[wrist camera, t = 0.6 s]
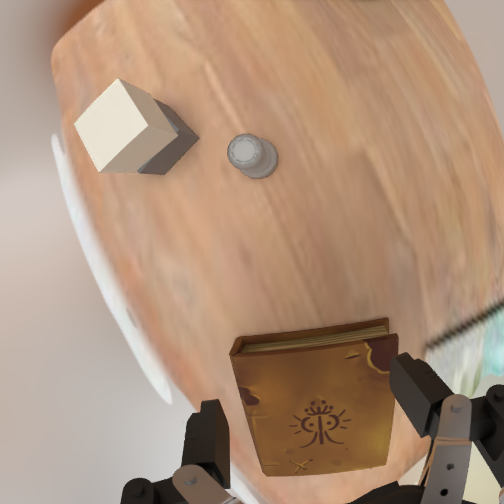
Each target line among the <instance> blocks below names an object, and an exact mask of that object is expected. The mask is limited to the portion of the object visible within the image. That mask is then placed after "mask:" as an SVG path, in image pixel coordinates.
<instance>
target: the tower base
mask: <svg viewBox="0 0 504 504" xmlns="http://www.w3.org/2000/svg"><path fill="white" fill-rule="evenodd" d="M153 99H154V98H153ZM154 100H155V102H156V103H157V105H158V106H159V108H160V109H161V111H162V112H163V114H164V115H165V117H166V118H167V120H168V121H169V123H170V124H171V126H172V127H173V129H174V130H175V132H176V133H177V135H178V136H177V137H176V138H175V139H174V140H173V141H171V142H170V143H169V144H168V145H166V146H165V147H164V148H163V149H162V150H161V151H159V152H158V153H157V154H156V155H155V156H153V157H152V158H151V159H150V160H149V161H148V162H147V163H145V164H144V165H143V166H142V167H141V168H140V169H139V170H138V173H140V174H163V175H165V174H166V173H167V172H168V171H169V169H170V168H171V167H172V166H173V165H174V164H175V163H176V162H177V161H178V160H179V159H180V158H181V157H182V156H183V155H184V154H185V153H186V152H187V151H188V150H189V149H190V148H191V146H192V145H193V144H194V143H195V142H196V141H197V140H198V139H199V137H198V136H197V135H196V134H195V133H194V132H193V131H192V130H191V129H190V128H189V127H188V126H187V124H186V123H185V122H184V121H183V120H182V119H181V118H180V117H179V116H178V115H177V114H176V113H175V112H174V111H173V110H172V109H171V108H170V107H169V106H167V105H165V104H163V103H162V102H160V101H158V100H156V99H154Z"/></svg>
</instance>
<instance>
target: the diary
mask: <svg viewBox="0 0 504 504" xmlns="http://www.w3.org/2000/svg"><path fill="white" fill-rule="evenodd" d="M398 340H399V337H398V335H397V333H395V334H390V335H389V319H388V318H383V319H377V320H371V321H365V322H359V323H353V324H346V325H339V326H332V327H325V328H318V329H310V330H302V331H293V332H284V333H274V334H264V335H253V336H241V337H238V338H236V340H235V342H234V344H233V347H232V349H231V351H230V353H229V355H230V359H231V363H232V367H233V371H234V375H235V378H236V382H237V386H238V389H239V393H240V397H241V400H242V404H243V408H244V411H245V415H246V418H247V422H248V425H249V429H250V432H251V436H252V439H253V442H254V446H255V449H256V452H257V456H258V459H259V462H260V465H261V469H262V472H263V473H264V474H265V475H266V476H304V475H318V474H329V473H339V472H347V471H354V470H361V469H367V468H373V467H378V466H384V465H386V462H387V457H388V451H389V445H390V438H391V431H392V423H393V415H394V406H395V396H394V395H393V393H392V392H391V389H390V385H389V375H390V362H391V358H392V357H394V356H397V355H398Z"/></svg>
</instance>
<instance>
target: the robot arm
mask: <svg viewBox="0 0 504 504" xmlns="http://www.w3.org/2000/svg"><path fill="white" fill-rule="evenodd" d="M389 385H390V389H391V392H392V393H393V395H394V396H395V398H396V399H397V401H398V403H399V404H400V406H401V407H402V409H403V410H404V412H405V413H406V415H407V417H408V418H409V420H410V421H411V423H412V424H413V426H414V428H415V429H416V431H417V432H418V434H419V435H420V437H421V438H423V437H425V436H427V435H430V437H431V441H430V445H429V449H428V453H427V457H426V461H425V465H424V468H423V472H422V475H421V478H420V480H419V483H418V485H401V486H399V484H398V482H397V481H394V482H392V483H389V484H387V485H384V486H382V487H379V488H376V489H373V490H372V491H370V492H368V493H367V494H365V495H363V496H361V497H360V498H358V499H356V500H354V501H353V502H351V503H347V504H476V503H472V502H469V501H465V500H462V498H463V494H464V489H465V484H466V479H467V473H468V468H469V461H470V454H471V445H472V441H473V442H474V444H475V445H476V446H477V448H478V450H479V452H480V453H481V455H482V456H483V458H484V459H485V461H486V463H487V465H488V466H489V468H490V469H491V471H492V473H493V474H494V476H495V478H496V480H497V481H498V483H499V484H500V486H501V488H502V490H501V491H500V494H499V501H500V503H499V504H504V385H500V384H499V385H494V386H492V387H490V388H489V389H488V391H487V393H486V396H483V397H478V398H474V399H469V398H468V397H466V396H464V395H461V394H454V393H453V392H452V391H451V390H450V388H449V387H448V386H447V385H446V384H445V383H444V382H443V380H442V379H441V378H440V377H439V376H437V374H436V372H435V371H433V369H432V368H431V367H430V366H429V365H428V363H426V362H424V361H422V360H420V359H416V360H414V359H413V358H412V357H411V356H410V355H409V354H408V353H407V352H405V353H402V354H399V355H397V356H394V357H392V358H391V362H390V375H389ZM225 489H230V438H229V426H228V422H227V419H226V416H225V414H224V411H223V409H222V406H221V404H220V401H219V400H218V399H215V400H207V401H202V402H201V410H200V412H199V413H192V415H191V416H190V418H189V419H188V421H187V425H186V433H185V440H184V448H183V456H182V463H181V467H180V468H179V469H177V470H176V471H175V473H174V474H173V476H172V477H170V478H168V479H165V480H161V481H158V482H154V483H151V482H150V481H149V480H147V479H145V478H136V479H132V480H130V481H129V482H127V484H126V485H125V486H124V488H123V492H122V497H121V503H120V504H244V503H242V502H241V501H240V500H239V499H237V498H236V497H235V498H234V497H232V496H231V495H230V494H229V493H228V492H227V491H226V490H225Z"/></svg>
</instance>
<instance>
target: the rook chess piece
mask: <svg viewBox="0 0 504 504" xmlns="http://www.w3.org/2000/svg"><path fill="white" fill-rule="evenodd" d="M227 155H228V158H229V161H230V162H231V163H232V165H233V166H234V167H236V168H238V169H240V170H241V172H242V173H243V174H245V175H246V176H248V177H250V178H255V179H261V178H264V177H267V176H269V175H270V174H271V173H272V172H273V171H274V170H275V168H276V166H277V163H278V154H277V152H276V149H275V147H274V146H273V145H272V144H271V143H270V142H268V141H266V140H264V139H262V138H258V137H256V136H254V135H252V134H241V135H238V136H236V137H235V138H234V139H233V140H231V142H230V144H229V146H228V151H227Z"/></svg>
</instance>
